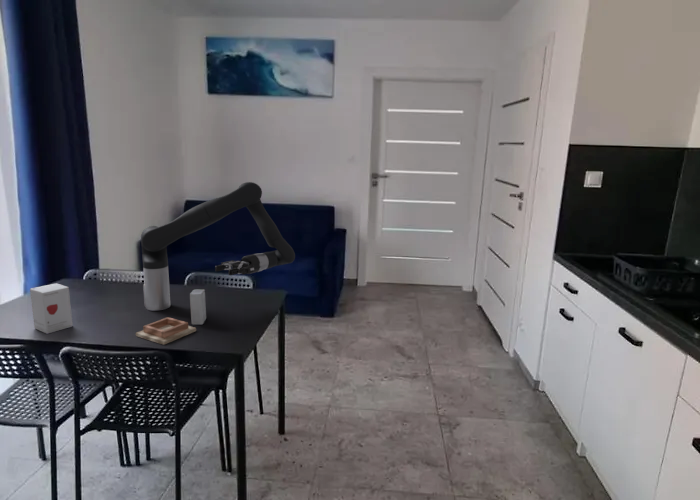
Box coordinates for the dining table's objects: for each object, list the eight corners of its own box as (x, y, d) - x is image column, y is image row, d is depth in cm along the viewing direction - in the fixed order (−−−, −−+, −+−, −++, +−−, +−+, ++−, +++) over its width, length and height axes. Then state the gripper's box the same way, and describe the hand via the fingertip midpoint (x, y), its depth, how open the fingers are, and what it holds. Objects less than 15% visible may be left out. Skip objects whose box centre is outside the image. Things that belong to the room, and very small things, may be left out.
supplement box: (46, 334, 156) (41, 293, 153) (33, 328, 161) (28, 288, 158) (73, 326, 164) (69, 286, 161) (61, 321, 168) (56, 282, 165)
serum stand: (135, 336, 157) (135, 326, 156) (169, 323, 169) (168, 314, 168) (163, 344, 150) (163, 335, 149) (196, 331, 162) (195, 322, 162)
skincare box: (195, 318, 174) (193, 289, 171) (206, 318, 174) (205, 289, 172) (191, 324, 168) (189, 293, 165) (202, 324, 168) (201, 293, 166)
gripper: (243, 251, 192) (210, 258, 179) (266, 257, 183) (233, 264, 171) (244, 269, 193) (211, 276, 181) (266, 274, 185) (234, 283, 172)
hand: (222, 270), depth 176 cm, fingers open, 8 cm apart
